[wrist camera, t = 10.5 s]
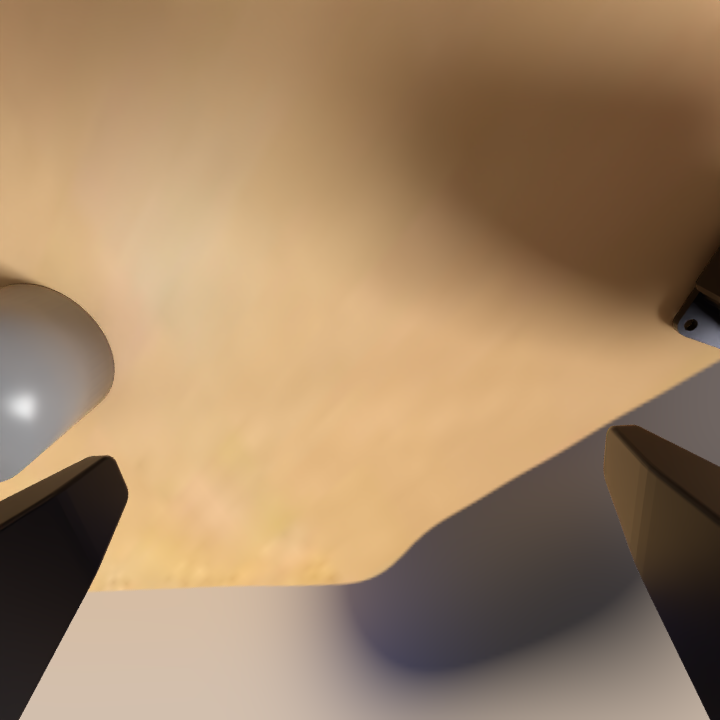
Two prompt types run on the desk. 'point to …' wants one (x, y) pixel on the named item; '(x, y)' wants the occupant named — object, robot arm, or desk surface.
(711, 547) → the robot arm
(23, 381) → the grey rounded lump
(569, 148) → the desk surface
